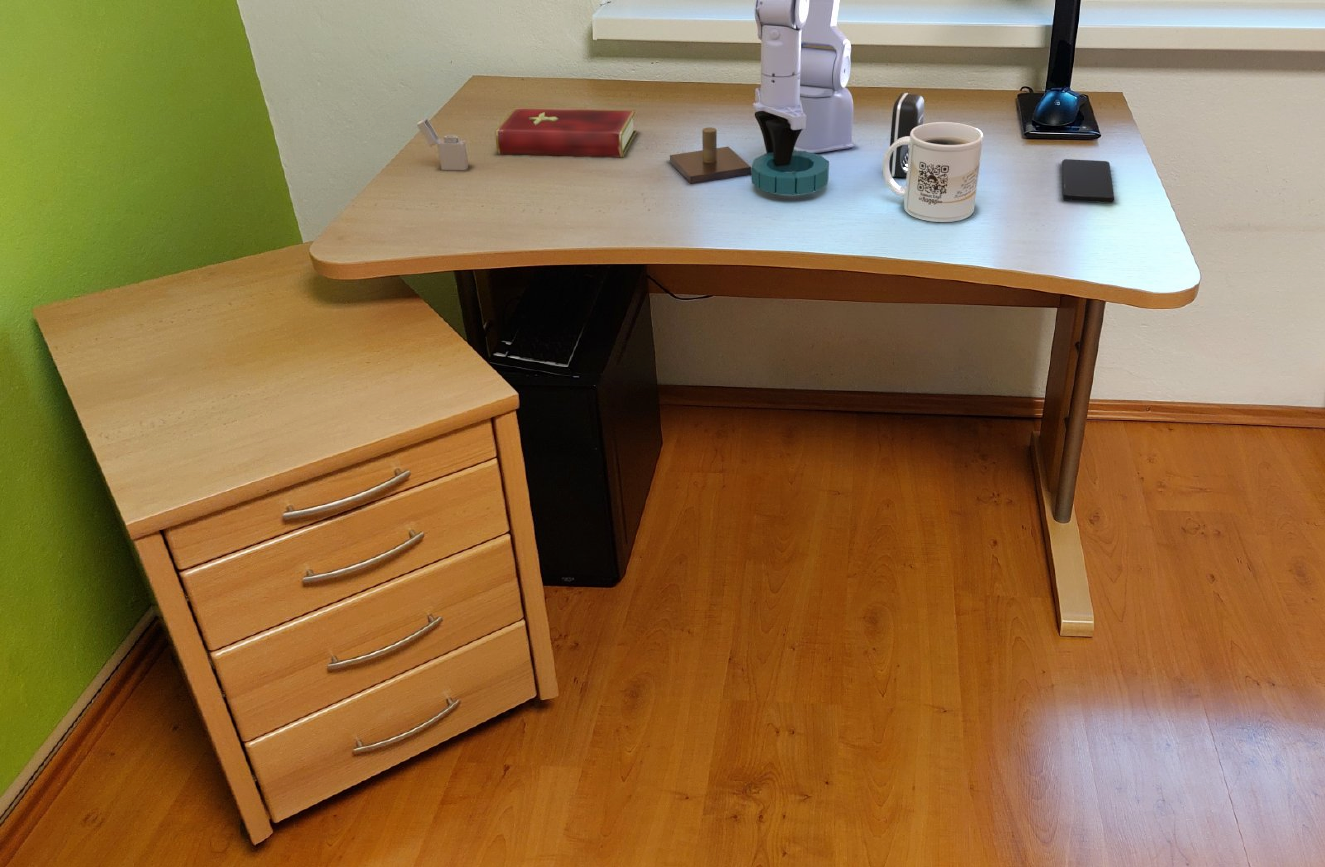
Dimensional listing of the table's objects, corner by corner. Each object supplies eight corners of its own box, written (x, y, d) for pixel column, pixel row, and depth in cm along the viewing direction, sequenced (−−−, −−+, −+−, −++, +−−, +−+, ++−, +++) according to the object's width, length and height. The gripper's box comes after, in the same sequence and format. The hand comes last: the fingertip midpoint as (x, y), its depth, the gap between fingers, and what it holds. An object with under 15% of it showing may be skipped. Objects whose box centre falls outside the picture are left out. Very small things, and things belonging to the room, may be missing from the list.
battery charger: (911, 180, 171) (918, 105, 165) (886, 178, 172) (892, 103, 166) (920, 164, 177) (927, 91, 170) (895, 162, 178) (902, 89, 171)
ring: (808, 162, 175) (809, 146, 174) (840, 188, 166) (841, 171, 165) (741, 173, 172) (741, 156, 171) (769, 199, 164) (769, 182, 162)
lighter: (468, 166, 183) (462, 117, 178) (465, 170, 181) (458, 121, 177) (426, 165, 184) (419, 116, 179) (423, 169, 182) (415, 120, 178)
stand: (728, 153, 184) (728, 115, 180) (751, 174, 176) (751, 135, 172) (669, 162, 181) (668, 124, 178) (690, 183, 173) (689, 144, 170)
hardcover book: (622, 158, 183) (621, 132, 181) (497, 154, 187) (494, 129, 184) (636, 133, 193) (634, 108, 191) (517, 130, 196) (514, 106, 194)
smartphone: (1063, 195, 162) (1062, 158, 174) (1062, 201, 163) (1061, 163, 175) (1114, 198, 160) (1109, 160, 172) (1113, 203, 161) (1108, 166, 173)
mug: (929, 229, 156) (936, 151, 150) (876, 200, 165) (881, 126, 159) (988, 213, 160) (998, 136, 154) (933, 186, 169) (941, 113, 163)
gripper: (736, 61, 169) (736, 149, 177) (774, 89, 158) (772, 182, 165) (780, 55, 171) (778, 143, 178) (820, 82, 159) (817, 174, 167)
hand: (778, 161), depth 172 cm, fingers closed on ring, 2 cm apart
